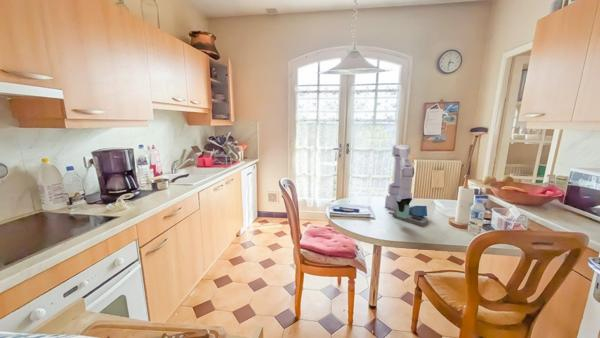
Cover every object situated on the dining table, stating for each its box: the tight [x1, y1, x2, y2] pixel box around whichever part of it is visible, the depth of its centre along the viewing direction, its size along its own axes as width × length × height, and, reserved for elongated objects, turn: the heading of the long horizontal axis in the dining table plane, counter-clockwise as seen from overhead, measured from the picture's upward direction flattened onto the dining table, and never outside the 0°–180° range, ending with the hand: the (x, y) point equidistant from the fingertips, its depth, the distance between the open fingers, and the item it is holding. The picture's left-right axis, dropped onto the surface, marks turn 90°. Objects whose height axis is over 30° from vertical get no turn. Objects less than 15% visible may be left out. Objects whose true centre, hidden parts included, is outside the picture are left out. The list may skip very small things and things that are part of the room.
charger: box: [396, 204, 411, 218], centre depth 139 cm, size 5×4×7 cm
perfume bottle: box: [409, 205, 428, 217], centre depth 150 cm, size 6×6×12 cm
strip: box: [388, 210, 429, 227], centre depth 148 cm, size 22×7×3 cm, turn 41°
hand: (403, 210), depth 139 cm, fingers closed on charger, 4 cm apart
